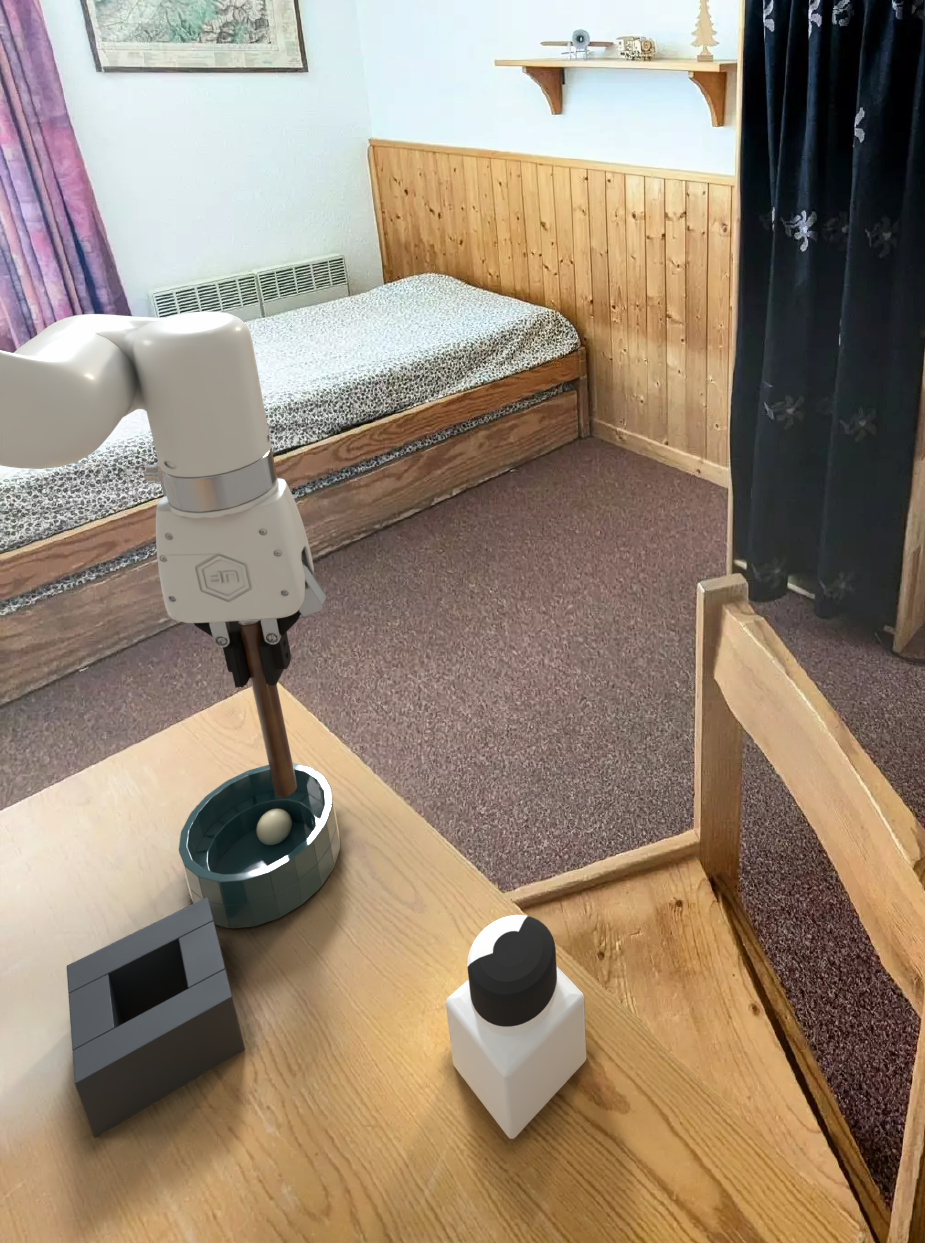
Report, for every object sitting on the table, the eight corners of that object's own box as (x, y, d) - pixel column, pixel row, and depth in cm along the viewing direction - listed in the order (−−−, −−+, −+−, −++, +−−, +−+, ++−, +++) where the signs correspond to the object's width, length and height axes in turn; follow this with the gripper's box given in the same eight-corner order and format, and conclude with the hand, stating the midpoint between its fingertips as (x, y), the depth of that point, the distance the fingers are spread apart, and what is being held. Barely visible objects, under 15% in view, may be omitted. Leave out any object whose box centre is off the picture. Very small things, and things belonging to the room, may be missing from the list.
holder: (84, 1019, 66) (66, 965, 64) (220, 948, 71) (207, 896, 69) (95, 1141, 59) (74, 1084, 57) (245, 1051, 64) (232, 996, 62)
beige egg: (254, 854, 79) (249, 829, 78) (265, 826, 82) (260, 802, 81) (288, 851, 79) (283, 827, 78) (298, 824, 82) (293, 800, 81)
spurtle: (272, 798, 74) (234, 626, 68) (279, 782, 76) (243, 612, 70) (293, 797, 75) (258, 625, 68) (299, 780, 76) (266, 611, 70)
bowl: (166, 938, 72) (152, 886, 70) (224, 814, 84) (213, 767, 82) (318, 927, 73) (308, 876, 71) (355, 806, 85) (347, 759, 82)
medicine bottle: (588, 1060, 63) (584, 946, 59) (511, 1144, 59) (501, 1026, 54) (527, 992, 68) (519, 881, 64) (451, 1065, 63) (437, 950, 59)
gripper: (84, 506, 61) (141, 714, 67) (314, 496, 62) (348, 701, 68) (136, 458, 68) (183, 650, 74) (341, 450, 69) (370, 640, 75)
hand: (262, 673), depth 71 cm, fingers closed on spurtle, 1 cm apart
